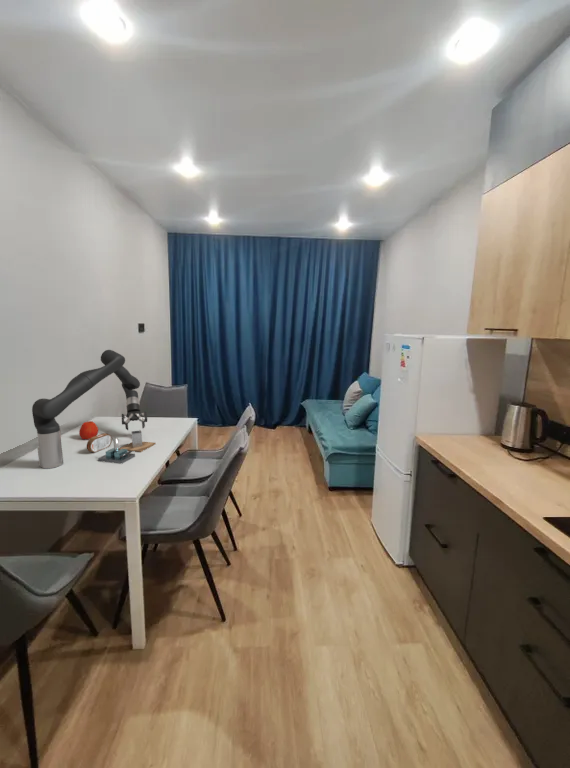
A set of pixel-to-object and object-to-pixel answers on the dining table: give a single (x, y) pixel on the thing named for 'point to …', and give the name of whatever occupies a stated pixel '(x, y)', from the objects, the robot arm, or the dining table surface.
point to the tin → (99, 442)
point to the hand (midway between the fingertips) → (135, 428)
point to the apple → (88, 430)
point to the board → (137, 449)
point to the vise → (116, 454)
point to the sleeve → (137, 439)
